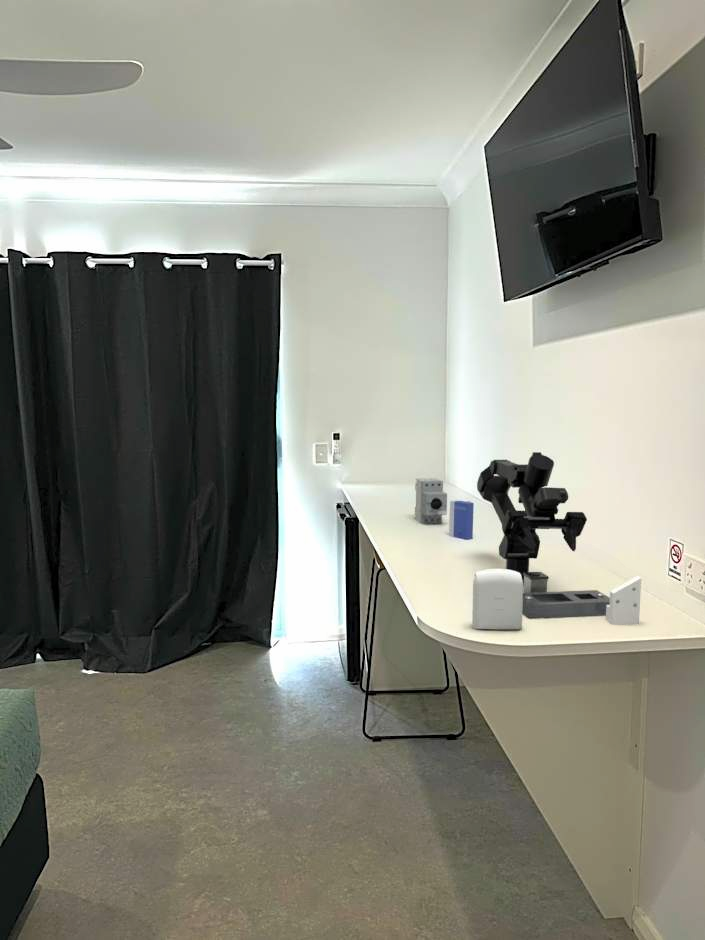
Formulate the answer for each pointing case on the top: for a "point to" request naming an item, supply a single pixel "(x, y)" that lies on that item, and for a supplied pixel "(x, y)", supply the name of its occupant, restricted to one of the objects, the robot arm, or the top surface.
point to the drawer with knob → (535, 582)
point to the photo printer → (497, 599)
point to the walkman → (461, 519)
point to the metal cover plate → (564, 604)
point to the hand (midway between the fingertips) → (554, 549)
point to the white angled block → (625, 603)
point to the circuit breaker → (430, 501)
